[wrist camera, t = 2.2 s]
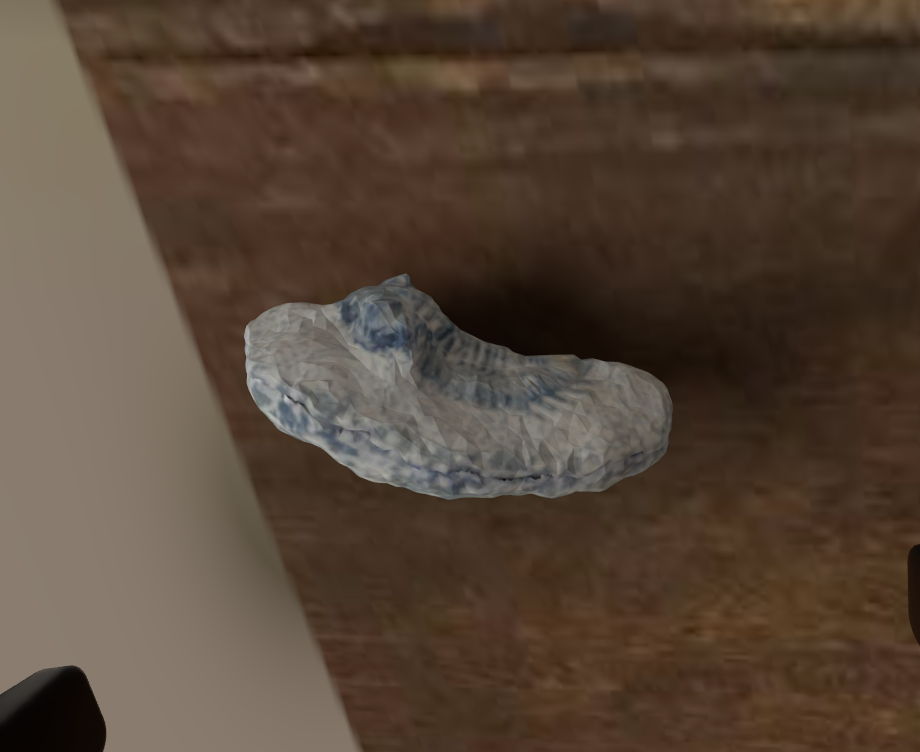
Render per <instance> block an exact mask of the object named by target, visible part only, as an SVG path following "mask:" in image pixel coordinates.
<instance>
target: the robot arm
mask: <svg viewBox="0 0 920 752" xmlns="http://www.w3.org/2000/svg"><path fill="white" fill-rule="evenodd" d="M908 608H909V620H910V624H911V628H912V631H913V633H914V636H915V638H916V640H917V642H918V644H919V645H920V544H918V545H915V546H914V547H913V548H912V549H911V550H910V551H909V555H908ZM105 742H106V726H105V721H104V718H103V716H102V714H101V711H100V709H99V706H98V704H97V701H96V699H95V696H94V694H93V691H92V689H91V687H90V684H89V682H88V679H87V677H86V675H85V673H84V672H83V671H82V670H81V669H80V668H79V667H76V666H64V667H57V668H49V669H44V670H41V671H38V672H36V673H34V674H33V675H31V676H29V677H28V678H26V679H25V680H23V681H22V682H20V683H18V684H17V685H15V686H13V687H12V688H10V689H9V690H7V691H5V692H4V693H2V694H1V695H0V752H103V750H104V746H105Z"/></svg>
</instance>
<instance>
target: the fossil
mask: <svg viewBox="0 0 920 752" xmlns="http://www.w3.org/2000/svg"><path fill="white" fill-rule="evenodd" d="M244 338H245V341H246V346H245V353H246V356H247V358H246V371H247V385H248V388H249V391H250V393H251V395H252V397H253V399H254V400H255V402H256V404H257V406H258V407H259V409H260V410H261V411H262V412H263V413H264V414H265V415H266V416H267V417H268V418H269V420H271V421H272V422H273V423H274V425H275V426H276V427H277V428H278V429H279V430H280V431H282V432H284V433H287V434H289V435H291V436H293V437H295V438H297V439H299V440H302V441H305V442H308V443H311V444H314V445H316V446H319V447H321V448H322V449H324V450H325V451H326V452H327V453H328V454H329V455H331V456H332V457H333V458H334V459H335V460H336V461H337V462H338V463H341V464H343V465H345V466H347V467H348V468H350V469H351V470H352V471H354V472H355V473H356V474H357V475H358V476H359V477H362V478H364V479H367V480H370V481H373V482H378V483H389V484H391V485H394V486H396V487H405V488H408V489H410V490H412V491H415V492H419V493H424V494H429V495H433V496H437V497H441V498H444V499H448V500H451V499H456V498H463V497H479V498H494V497H497V496H501V495H525V494H529V493H532V494H535V495H538V496H542V497H548V498H556V497H560V496H564V495H569V494H571V493H573V492H575V491H593V492H600V491H603V490H606V489H608V488H609V487H611V486H612V485H614V484H615V483H616V482H618V481H620V480H622V479H624V478H626V477H628V476H632V475H635V474H638V473H640V472H643V471H644V470H646V469H647V468H648V467H650V466H651V465H653V464H654V463H655V462H657V461H658V460H659V459H660V458H661V457H662V456H663V455H664V454H665V452H666V449H667V446H668V443H669V439H668V435H669V432H670V431H671V422H672V411H673V406H672V401H671V398H670V395H669V392H668V389H667V388H666V386H665V385H664V383H662V382H661V381H660V380H658V379H657V378H655V377H654V376H653V375H651V374H650V373H648V372H646V371H643V370H641V369H637V368H634V367H632V366H630V365H626V364H623V363H620V362H604V361H601V360H597V359H593V358H592V359H583V360H581V359H580V358H578V357H577V356H575V355H537V356H523V355H520V354H518V353H515V352H512V351H511V350H510V349H509V348H507V347H504V346H500V345H495V344H492V343H488V342H484V341H482V340H480V339H478V338H476V337H474V336H472V335H470V334H468V333H466V332H464V331H462V330H460V329H459V328H458V327H457V326H456V325H455V324H454V323H452V322H451V321H450V319H449V318H448V317H447V316H446V315H444V314H443V313H442V312H441V309H440V307H439V306H438V305H437V304H436V303H435V302H434V301H433V299H432V297H431V296H429V295H427V294H425V293H423V292H421V291H419V290H417V289H416V288H415V287H414V286H413V284H412V281H411V278H410V276H409V275H407V274H402V275H399V276H396V277H393V278H391V279H388V280H385V281H384V282H382V283H381V284H380V285H378V286H366V287H363V288H361V289H359V290H356V291H354V292H352V293H351V294H350V295H348V296H347V297H346V298H345V299H344V300H342V301H337V302H335V303H333V304H330V305H319V304H312V303H305V302H299V303H286V304H283V305H279V306H276V307H273V308H271V309H269V310H268V311H266V312H264V313H262V314H261V315H260V316H259V317H258V318H257V319H255V320H253V321H251V322H250V323H249V324H248V325H247V326H246V330H245V334H244Z"/></svg>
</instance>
